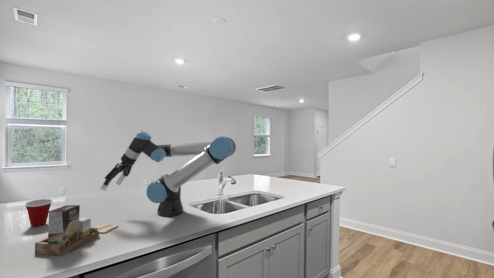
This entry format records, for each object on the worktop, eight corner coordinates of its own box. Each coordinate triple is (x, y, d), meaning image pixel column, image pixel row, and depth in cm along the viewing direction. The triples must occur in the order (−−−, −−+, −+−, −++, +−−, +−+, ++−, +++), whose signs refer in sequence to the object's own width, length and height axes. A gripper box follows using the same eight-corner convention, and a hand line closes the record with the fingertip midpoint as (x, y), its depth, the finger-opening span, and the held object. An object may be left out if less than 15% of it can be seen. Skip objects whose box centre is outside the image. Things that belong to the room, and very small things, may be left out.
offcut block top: (90, 224, 104) (90, 218, 104) (82, 227, 100) (83, 221, 100) (78, 223, 105) (78, 217, 105) (70, 226, 101) (71, 220, 101)
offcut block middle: (90, 231, 104) (90, 224, 104) (82, 234, 100) (83, 227, 100) (78, 230, 105) (78, 223, 105) (70, 233, 101) (70, 226, 101)
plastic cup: (19, 230, 111) (20, 205, 111) (28, 223, 121) (29, 200, 121) (48, 226, 116) (49, 203, 116) (54, 220, 126) (55, 198, 126)
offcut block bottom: (90, 237, 104) (90, 231, 104) (82, 241, 100) (82, 234, 100) (78, 236, 105) (78, 230, 105) (70, 240, 101) (70, 233, 101)
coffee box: (64, 252, 90) (65, 211, 91) (47, 252, 90) (47, 211, 90) (79, 242, 100) (80, 204, 100) (63, 242, 99) (64, 204, 99)
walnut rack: (98, 236, 105) (99, 227, 105) (61, 256, 87) (61, 245, 87) (75, 234, 107) (76, 226, 107) (34, 253, 89) (35, 242, 89)
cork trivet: (118, 226, 118) (118, 225, 118) (104, 233, 109) (104, 232, 109) (100, 225, 119) (100, 224, 119) (86, 232, 110) (86, 230, 110)
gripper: (136, 150, 143) (118, 178, 144) (111, 154, 118) (89, 188, 119) (146, 157, 143) (128, 185, 143) (123, 162, 118) (101, 196, 118)
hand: (110, 186), depth 131 cm, fingers open, 13 cm apart
